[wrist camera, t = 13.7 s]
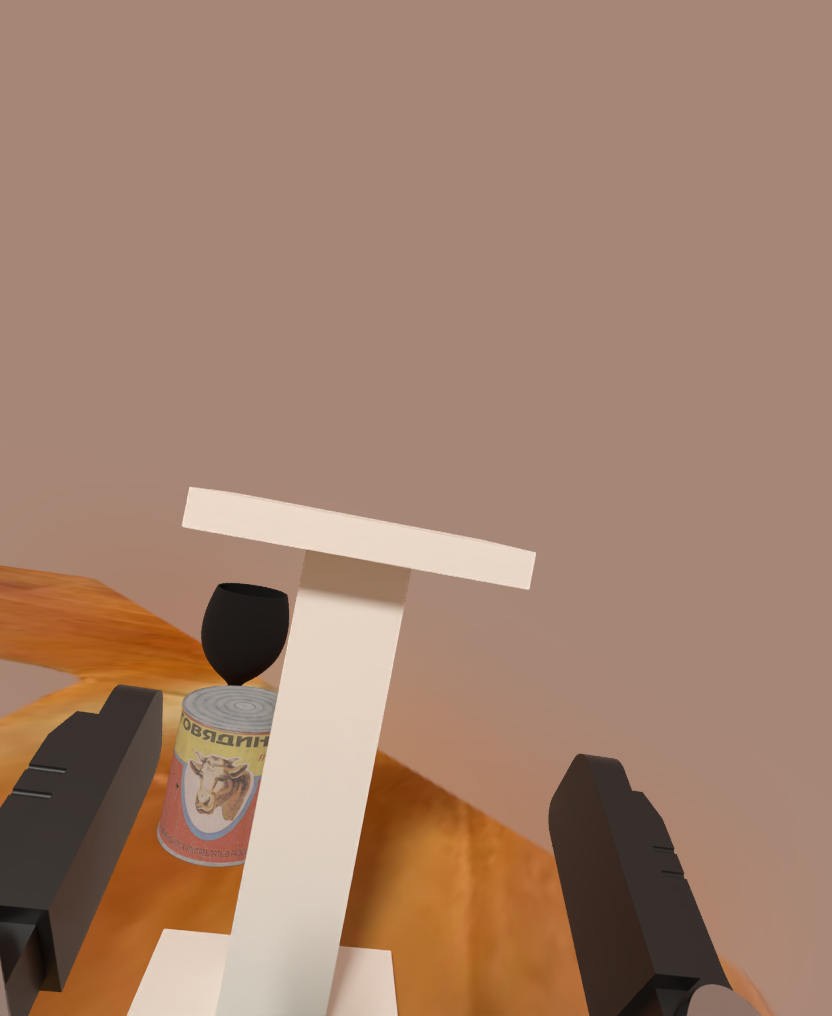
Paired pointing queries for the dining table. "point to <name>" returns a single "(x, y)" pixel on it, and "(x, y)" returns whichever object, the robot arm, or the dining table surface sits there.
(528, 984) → the dining table surface
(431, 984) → the dining table surface
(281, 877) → the white i-beam pedestal
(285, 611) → the wine glass
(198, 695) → the canned food
